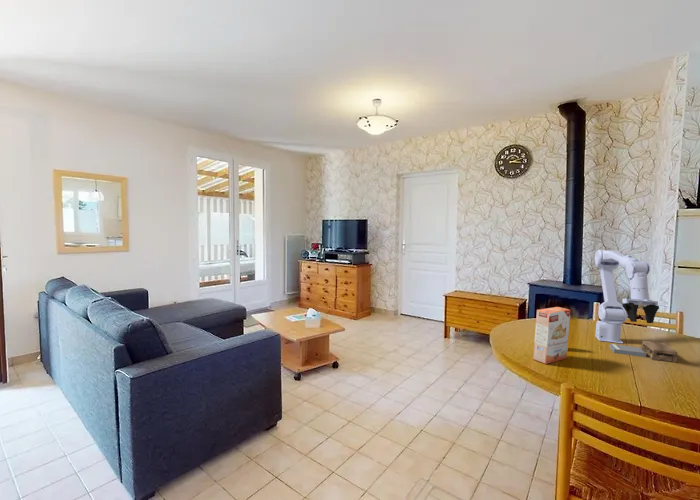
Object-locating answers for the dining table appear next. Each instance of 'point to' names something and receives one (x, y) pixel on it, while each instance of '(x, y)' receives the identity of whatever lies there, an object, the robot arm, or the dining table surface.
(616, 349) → the tile
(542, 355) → the cracker box
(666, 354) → the shelf
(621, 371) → the dining table surface
